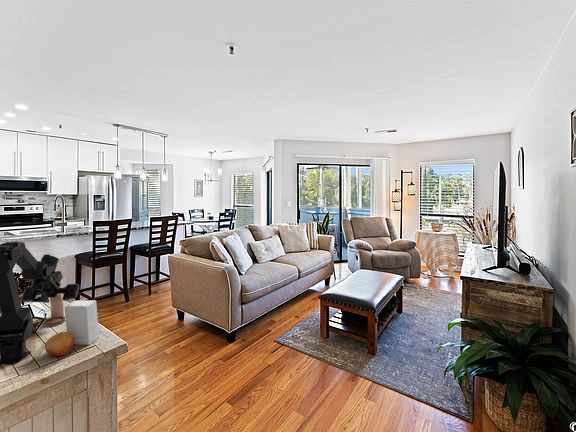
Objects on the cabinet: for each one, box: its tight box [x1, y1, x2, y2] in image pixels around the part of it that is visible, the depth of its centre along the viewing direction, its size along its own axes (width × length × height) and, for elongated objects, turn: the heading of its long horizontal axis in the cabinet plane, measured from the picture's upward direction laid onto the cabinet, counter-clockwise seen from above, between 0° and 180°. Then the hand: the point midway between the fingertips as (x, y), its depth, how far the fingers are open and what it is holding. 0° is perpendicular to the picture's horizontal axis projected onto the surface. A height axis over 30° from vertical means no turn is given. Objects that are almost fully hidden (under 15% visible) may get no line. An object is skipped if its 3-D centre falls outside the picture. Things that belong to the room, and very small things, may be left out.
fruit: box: [44, 331, 74, 357], centre depth 101 cm, size 8×8×8 cm
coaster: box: [43, 315, 66, 327], centre depth 123 cm, size 7×7×1 cm
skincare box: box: [64, 299, 100, 346], centre depth 108 cm, size 8×6×15 cm
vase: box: [49, 285, 65, 318], centre depth 128 cm, size 4×4×14 cm
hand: (58, 301), depth 129 cm, fingers open, 7 cm apart
